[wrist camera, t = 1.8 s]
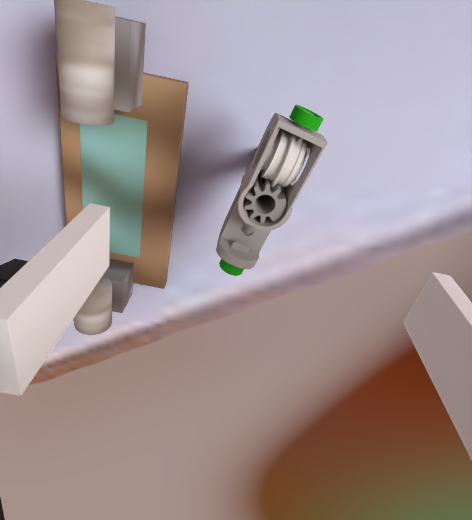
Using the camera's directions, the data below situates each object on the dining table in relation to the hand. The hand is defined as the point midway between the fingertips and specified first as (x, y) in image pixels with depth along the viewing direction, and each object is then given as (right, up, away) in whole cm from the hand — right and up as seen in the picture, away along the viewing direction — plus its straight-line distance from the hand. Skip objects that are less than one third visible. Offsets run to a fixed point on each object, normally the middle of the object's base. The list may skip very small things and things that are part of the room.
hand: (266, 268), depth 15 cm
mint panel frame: (-11, +6, +16) cm, 20 cm away
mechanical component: (+1, +9, +14) cm, 16 cm away
